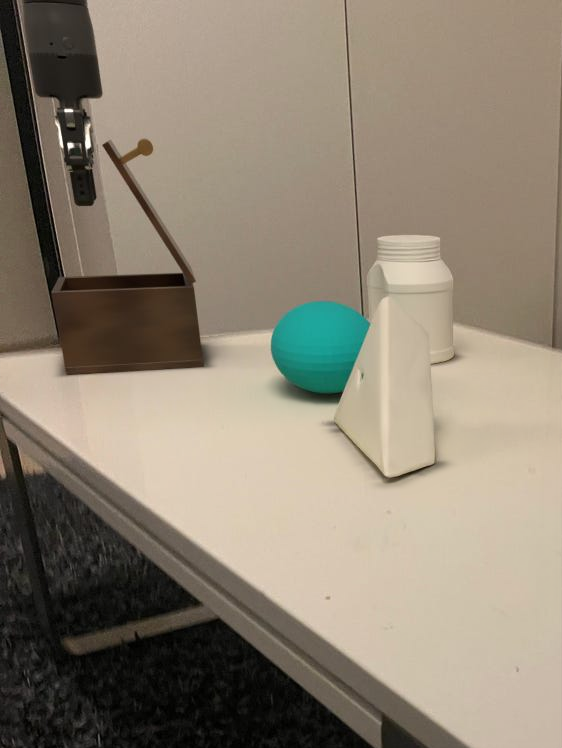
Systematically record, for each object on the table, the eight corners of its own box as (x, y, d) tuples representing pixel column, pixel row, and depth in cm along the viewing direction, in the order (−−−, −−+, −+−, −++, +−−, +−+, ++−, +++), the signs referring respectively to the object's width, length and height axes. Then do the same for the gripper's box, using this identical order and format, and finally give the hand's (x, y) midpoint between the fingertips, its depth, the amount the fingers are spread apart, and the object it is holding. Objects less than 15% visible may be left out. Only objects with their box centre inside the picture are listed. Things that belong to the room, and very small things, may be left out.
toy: (393, 405, 112) (389, 313, 107) (278, 411, 109) (270, 317, 104) (372, 371, 127) (368, 289, 122) (271, 376, 124) (263, 292, 119)
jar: (362, 352, 137) (356, 236, 130) (423, 345, 142) (420, 232, 135) (399, 368, 129) (395, 244, 122) (463, 360, 133) (462, 240, 126)
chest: (66, 374, 124) (50, 292, 120) (72, 352, 136) (58, 276, 132) (203, 366, 129) (193, 286, 124) (198, 346, 140) (189, 272, 136)
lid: (101, 144, 115) (139, 123, 115) (105, 142, 126) (139, 122, 126) (190, 284, 124) (224, 264, 124) (186, 270, 136) (217, 251, 136)
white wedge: (478, 423, 85) (438, 313, 99) (414, 404, 82) (382, 294, 96) (412, 552, 94) (384, 435, 107) (353, 539, 91) (331, 421, 105)
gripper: (33, 54, 120) (58, 199, 128) (21, 46, 108) (49, 207, 116) (98, 56, 122) (119, 199, 130) (94, 49, 110) (117, 207, 118)
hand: (86, 203), depth 123 cm, fingers open, 8 cm apart
